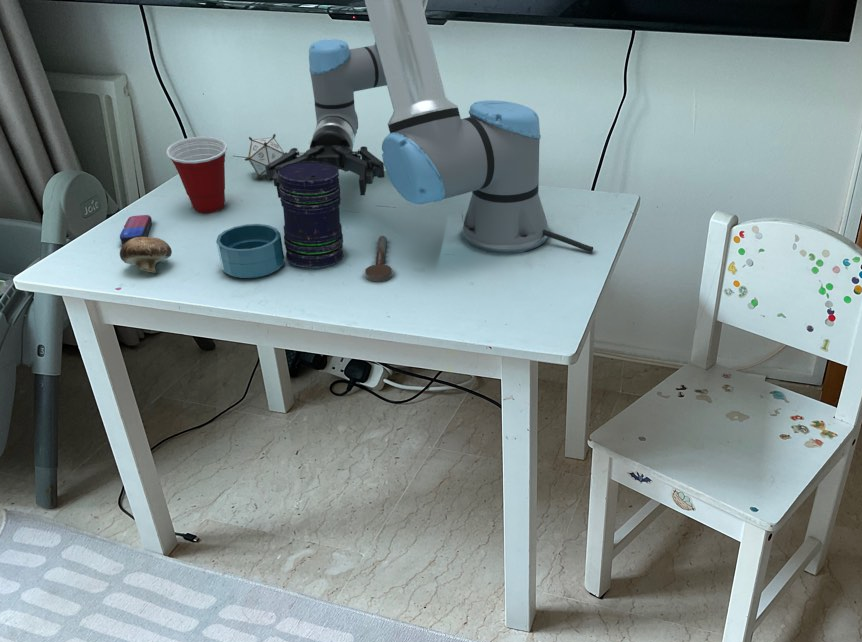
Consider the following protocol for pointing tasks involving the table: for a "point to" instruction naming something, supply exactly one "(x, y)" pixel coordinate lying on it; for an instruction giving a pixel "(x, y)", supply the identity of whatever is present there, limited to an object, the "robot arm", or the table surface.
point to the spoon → (379, 264)
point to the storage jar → (311, 213)
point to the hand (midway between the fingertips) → (320, 189)
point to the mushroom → (145, 252)
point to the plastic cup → (201, 171)
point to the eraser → (136, 227)
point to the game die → (263, 153)
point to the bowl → (250, 250)
